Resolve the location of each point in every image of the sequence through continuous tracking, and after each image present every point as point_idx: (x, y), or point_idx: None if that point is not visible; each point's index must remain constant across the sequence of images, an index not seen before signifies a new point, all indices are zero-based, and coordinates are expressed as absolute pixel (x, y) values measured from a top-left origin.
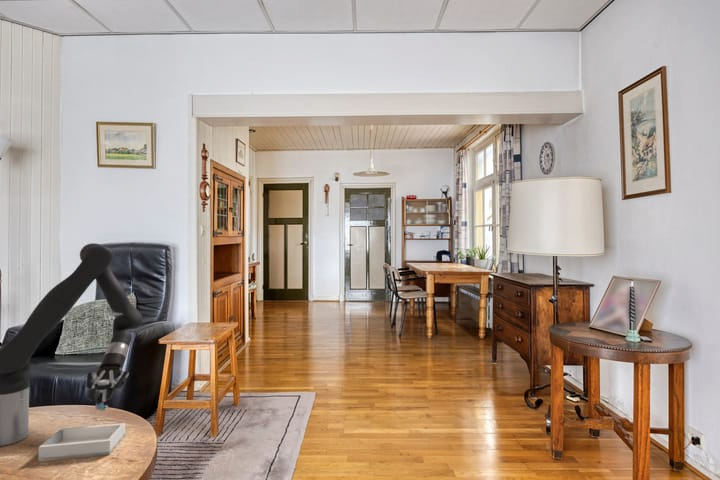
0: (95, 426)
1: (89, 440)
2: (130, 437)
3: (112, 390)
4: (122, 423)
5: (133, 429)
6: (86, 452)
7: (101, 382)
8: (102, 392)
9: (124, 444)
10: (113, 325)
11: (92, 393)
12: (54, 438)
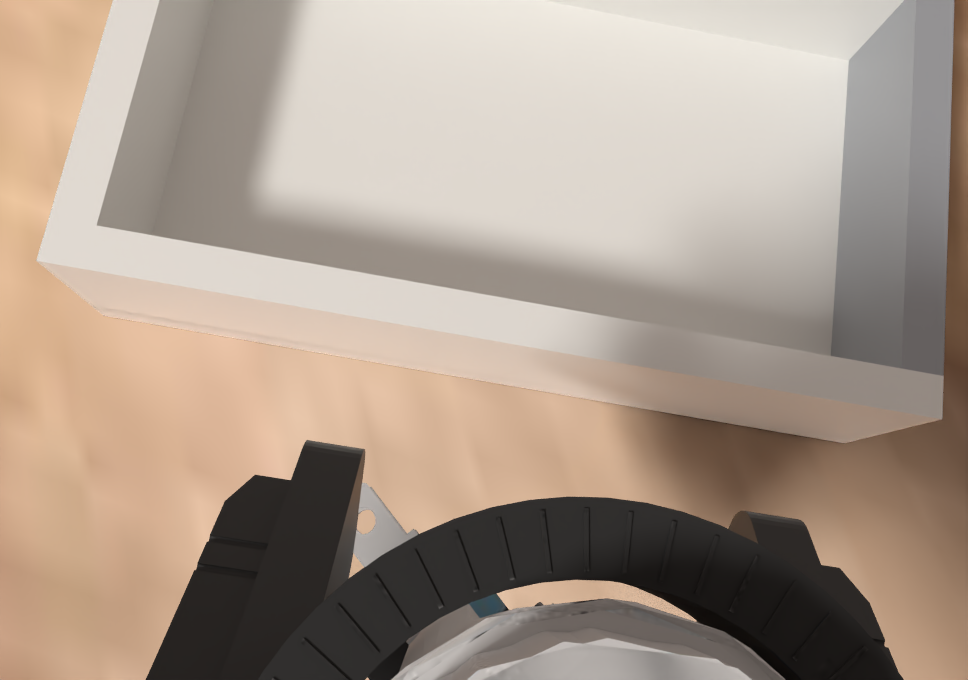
0: (472, 307)
1: (501, 259)
2: (34, 249)
3: (180, 640)
4: (83, 269)
5: (17, 485)
6: None
7: (641, 660)
8: None
9: None
10: None
11: None
12: (895, 184)
